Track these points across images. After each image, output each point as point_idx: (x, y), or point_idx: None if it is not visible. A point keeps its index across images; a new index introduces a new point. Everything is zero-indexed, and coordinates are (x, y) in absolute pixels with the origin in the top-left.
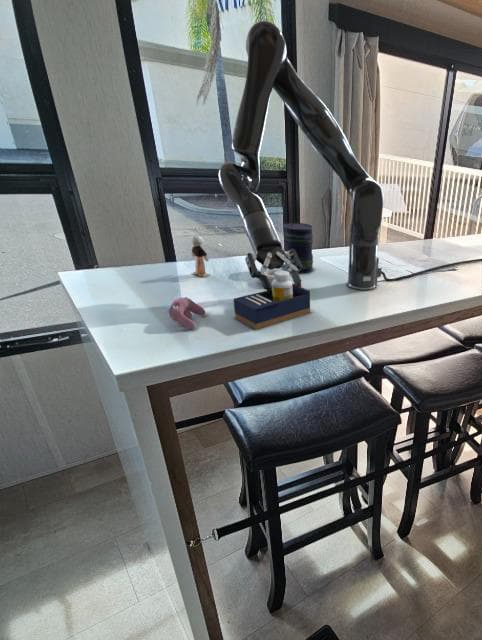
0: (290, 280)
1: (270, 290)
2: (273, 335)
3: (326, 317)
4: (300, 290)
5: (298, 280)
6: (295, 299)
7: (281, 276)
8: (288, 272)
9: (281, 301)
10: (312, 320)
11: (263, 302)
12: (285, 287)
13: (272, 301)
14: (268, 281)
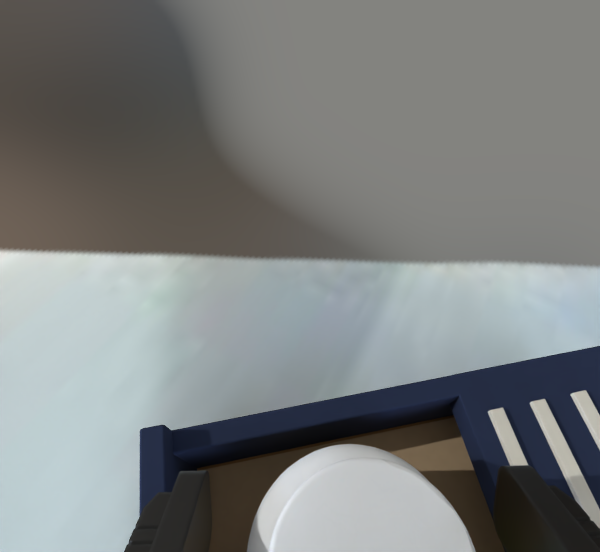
0: (261, 541)
1: (495, 500)
2: (480, 296)
3: (154, 355)
4: None
5: (187, 489)
6: (295, 408)
7: (411, 471)
8: (279, 544)
9: (417, 389)
10: (241, 355)
11: (551, 414)
12: (363, 445)
13: (479, 417)
14: (552, 515)
